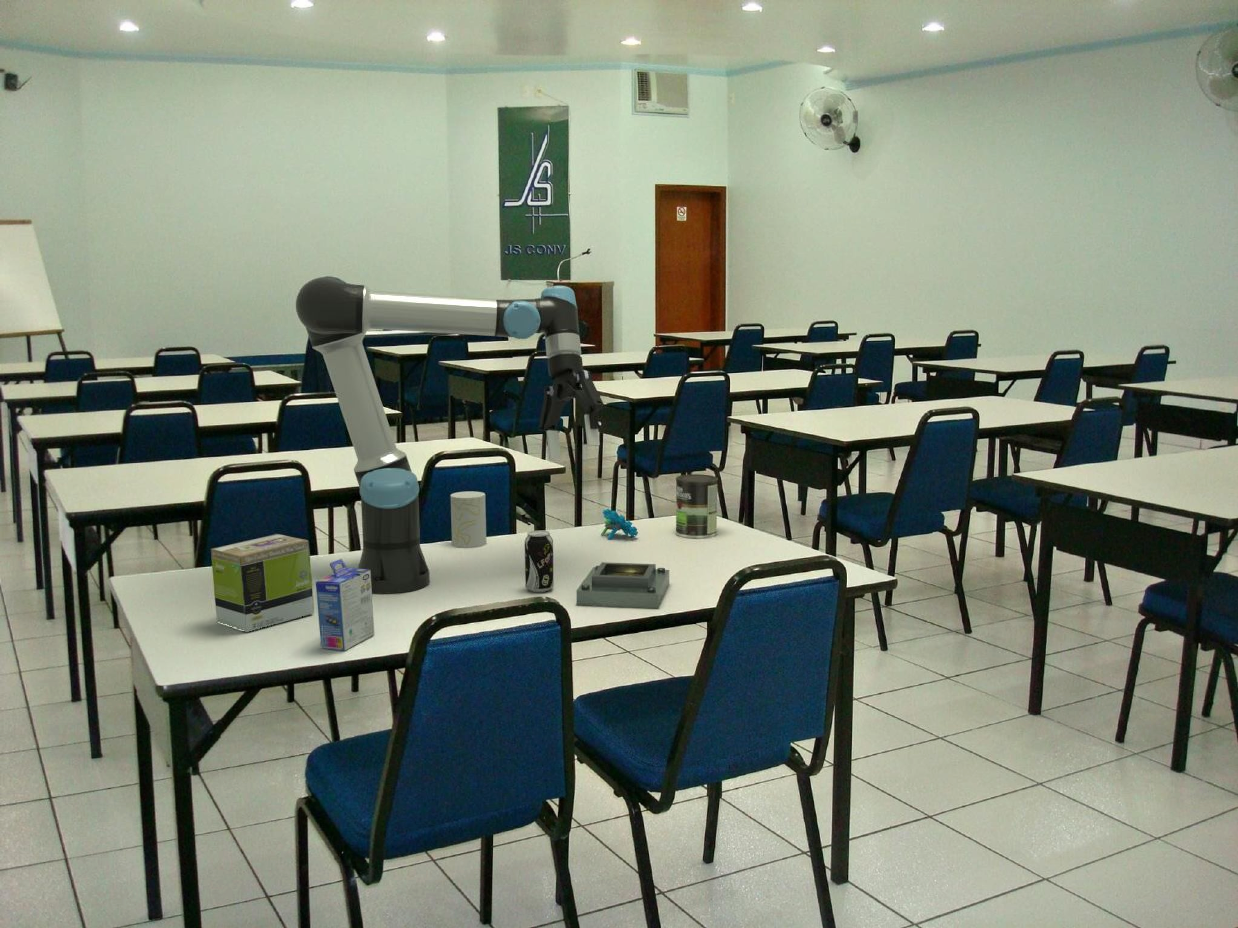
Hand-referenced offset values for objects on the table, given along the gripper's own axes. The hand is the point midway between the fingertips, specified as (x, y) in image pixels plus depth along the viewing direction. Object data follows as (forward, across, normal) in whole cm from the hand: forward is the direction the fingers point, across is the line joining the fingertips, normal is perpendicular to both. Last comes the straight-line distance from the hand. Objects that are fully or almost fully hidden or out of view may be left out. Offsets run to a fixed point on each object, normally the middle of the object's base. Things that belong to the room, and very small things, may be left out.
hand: (574, 453), depth 246 cm
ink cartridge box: (+37, 0, +54) cm, 66 cm away
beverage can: (+29, +4, +10) cm, 30 cm away
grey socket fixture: (+31, -10, -1) cm, 33 cm away
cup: (+12, +44, 0) cm, 46 cm away
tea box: (+31, +21, +60) cm, 71 cm away
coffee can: (+14, +16, -48) cm, 53 cm away
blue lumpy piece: (+14, +26, -32) cm, 43 cm away
